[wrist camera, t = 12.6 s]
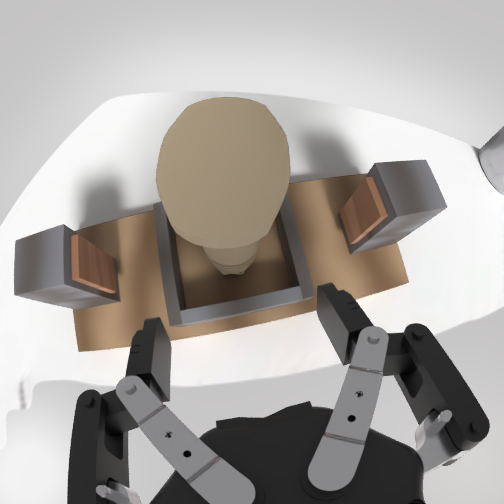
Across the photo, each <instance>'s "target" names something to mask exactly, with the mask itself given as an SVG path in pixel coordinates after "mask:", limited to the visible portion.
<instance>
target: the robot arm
mask: <svg viewBox="0 0 504 504" xmlns="http://www.w3.org/2000/svg"><path fill="white" fill-rule="evenodd" d="M479 159H480V162H481V166H482V168H483V170H484V172H485V174H486V176H487V178H488V179H489V181H490V182H491V183H492V185H493V186H494V187H495V188H496V189H497V190H498V191H499V192H500V193H502V194H504V126H503V127H502V128H501V129H500V130H499V131H498V132H497V133H496V134H495V135H494V136H493V137H492V138H491V139H490V140H489V141H488V142H487V143H486V144H485V145H484V146H483V147H482V148H481V149H480V151H479ZM317 314H318V318H319V320H320V322H321V324H322V326H323V328H324V330H325V331H326V333H327V335H328V337H329V339H330V341H331V343H332V345H333V347H334V349H335V350H336V352H337V354H338V356H339V358H340V360H341V362H342V364H343V365H347V364H351V365H350V366H349V368H348V372H347V374H346V378H345V381H344V383H343V386H342V389H341V392H340V395H339V397H338V400H337V403H336V406H335V408H334V410H333V409H330V408H325V407H312V405H311V403H310V401H308V402H305V403H301V404H297V405H294V406H290V407H286V408H284V409H282V410H280V411H278V412H276V413H274V414H272V415H270V416H267V417H265V418H247V417H238V418H232V419H225V420H220V421H216V426H217V427H216V428H213V429H211V430H209V431H207V432H206V433H204V434H203V435H202V436H201V437H200V438H198V437H197V436H196V435H195V434H193V433H192V432H191V431H190V430H189V429H188V428H187V427H186V426H185V425H184V424H183V423H182V422H181V421H180V420H179V419H178V418H177V417H176V416H175V415H174V414H173V413H172V412H171V411H170V409H169V408H168V407H166V405H163V402H166V401H170V369H171V343H170V339H169V336H168V334H167V332H166V330H165V327H164V325H163V323H162V321H161V319H160V317H155V318H149V319H145V320H144V325H143V330H137V332H136V333H135V335H134V336H133V338H132V343H131V348H130V354H129V359H128V364H127V370H126V376H125V378H123V379H122V380H120V381H119V383H118V384H117V386H116V389H115V390H113V391H110V392H107V393H105V394H102V395H100V394H99V392H98V391H96V390H87V391H85V392H83V393H82V394H81V395H80V396H79V397H78V400H77V404H76V410H75V416H74V423H73V430H72V438H71V447H70V457H69V471H68V496H67V498H68V500H67V504H141V501H140V498H139V496H138V495H137V493H136V492H134V491H133V490H131V489H129V468H128V431H129V430H132V429H135V428H138V427H140V429H141V430H142V431H143V432H144V434H145V435H146V436H147V438H148V439H149V440H150V441H151V442H152V444H153V445H154V446H155V447H156V448H157V449H158V451H159V452H160V453H161V454H162V455H163V456H164V457H165V458H166V460H167V461H168V462H169V463H170V464H171V465H172V466H173V467H174V468H175V469H176V470H175V471H174V473H173V474H172V475H171V476H170V478H169V479H168V480H167V482H166V483H165V484H164V486H163V487H162V488H161V490H160V491H159V492H158V494H157V495H156V496H155V497H154V499H153V500H152V501H151V502H150V504H426V503H425V501H424V497H423V476H424V475H425V474H426V473H428V472H430V471H432V470H434V469H436V468H437V467H439V466H441V465H443V466H448V465H451V464H452V463H454V462H455V461H457V460H458V459H459V458H461V457H462V456H463V455H464V454H466V453H467V452H468V451H469V450H471V449H472V448H473V447H475V446H476V445H477V444H478V443H479V442H481V441H482V440H483V439H484V438H485V437H486V436H487V434H488V432H489V428H490V424H489V420H488V418H487V417H486V414H485V413H484V411H483V409H482V408H481V406H480V404H479V403H478V401H477V399H476V398H475V396H474V395H473V393H472V391H471V390H470V388H469V387H468V385H467V383H466V382H465V380H464V379H463V377H462V376H461V374H460V373H459V371H458V370H457V368H456V367H455V366H454V364H453V363H452V361H451V359H450V358H449V356H448V355H447V354H446V352H445V351H444V349H443V348H442V347H441V345H440V344H439V343H438V341H437V340H436V338H435V337H434V336H433V334H432V333H431V331H430V330H429V329H428V328H427V327H426V326H424V325H422V324H418V323H415V324H410V325H408V326H407V327H406V329H405V331H404V333H387V332H386V331H385V330H384V329H382V328H380V327H376V326H374V325H373V324H372V323H371V321H370V320H369V318H368V317H367V316H366V314H365V313H364V311H363V310H362V309H361V308H360V306H359V304H358V303H357V302H356V300H355V299H354V298H353V296H352V295H351V294H350V293H348V292H347V291H345V290H339V291H338V290H337V288H336V287H335V285H334V284H333V283H332V282H331V283H327V284H322V285H318V286H317ZM390 375H394V377H395V378H396V381H397V382H398V384H399V386H400V388H401V390H402V392H403V394H404V396H405V398H406V400H407V402H408V403H409V406H410V407H411V409H412V412H413V413H414V415H415V418H416V420H417V422H418V424H419V427H418V428H417V430H416V432H415V440H416V445H417V446H416V451H415V450H414V449H413V448H411V447H410V446H408V445H405V444H403V443H401V442H399V441H396V440H394V439H392V438H390V437H387V436H386V435H383V434H381V433H379V432H377V431H375V430H373V429H371V428H370V424H371V421H372V417H373V414H374V410H375V406H376V402H377V398H378V394H379V390H380V386H381V382H382V377H383V376H390Z"/></svg>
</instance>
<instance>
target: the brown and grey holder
mask: <svg viewBox="0 0 504 504" xmlns="http://www.w3.org/2000/svg"><path fill="white" fill-rule="evenodd" d="M153 205H154V210H153V211H148V212H144V213H140V214H136V215H132V216H128V217H124V218H120V219H117V220H113V221H109V222H105V223H102V224H98V225H94V226H91V227H87V228H84V229H80V230H77V231H73V230H71V229H70V228H69V227H67V226H66V225H64V224H63V225H60V226H57V227H54V228H51V229H48V230H45V231H42V232H39V233H36V234H33V235H30V236H27V237H24V238H22V239H19V240H16V243H15V262H14V295H16V296H20V297H24V298H28V299H32V300H36V301H40V302H44V303H49V304H53V305H58V306H62V307H67V308H72V309H73V314H74V323H75V331H76V338H77V344H78V350H79V352H83V351H95V350H105V349H114V348H123V347H131V343H132V338H133V336H134V335H135V333H136V332H137V330H143V325H144V320H145V319H149V318H155V317H160V319H161V321H162V323H163V325H164V327H165V330H166V332H167V334H168V336H169V339H170V341H173V340H179V339H185V338H191V337H197V336H202V335H208V334H213V333H218V332H223V331H229V330H234V329H238V328H243V327H248V326H253V325H257V324H262V323H266V322H271V321H275V320H279V319H284V318H288V317H292V316H296V315H300V314H304V313H308V312H312V311H316V310H317V286H318V285H322V284H327V283H331V282H332V283H333V284H334V285H335V287H336V288H337V290H338V291H339V290H345V291H347V292H348V293H350V294H351V295H352V296H353V298H354V299H359V298H362V297H366V296H369V295H372V294H375V293H379V292H382V291H385V290H388V289H391V288H395V287H398V286H401V285H403V284H406V283H409V281H408V277H407V274H406V270H405V267H404V263H403V260H402V257H401V254H400V250H399V247H398V244H397V242H398V241H399V240H401V239H402V238H404V237H405V236H407V235H408V234H410V233H411V232H413V231H414V230H416V229H417V228H419V227H420V226H422V225H423V224H424V223H426V222H427V221H429V220H430V219H432V218H433V217H434V216H436V215H437V214H439V213H440V212H441V211H443V210H444V209H446V208H447V205H446V203H445V200H444V198H443V196H442V193H441V191H440V189H439V186H438V184H437V182H436V180H435V178H434V176H433V173H432V171H431V169H430V167H429V165H428V163H427V161H426V160H412V161H395V162H382V163H375V164H374V165H373V167H372V168H371V169H370V171H369V172H368V173H366V174H357V175H349V176H340V177H333V178H325V179H318V180H311V181H304V182H297V183H290V184H289V185H288V189H287V192H286V195H285V197H284V200H283V203H282V205H281V207H280V209H279V212H278V214H277V216H276V218H275V220H274V222H273V224H272V226H271V228H270V230H269V232H268V234H267V235H265V236H264V237H262V238H261V239H260V243H259V247H258V251H257V254H256V256H255V258H254V260H253V262H252V264H251V265H250V266H249V267H248V268H247V269H246V270H245V272H244V273H243V274H241V275H237V274H228V275H224V274H222V273H221V272H220V270H218V269H217V268H216V267H215V266H214V265H213V264H212V263H211V262H210V260H209V259H208V257H207V255H206V253H205V251H204V249H203V246H200V245H196V244H193V243H191V242H189V241H187V240H185V239H184V238H183V237H181V236H180V235H178V234H177V233H176V232H175V230H174V229H173V227H172V226H171V224H170V221H169V219H168V216H167V214H166V211H165V209H164V206H163V204H162V202H160V203H156V204H153Z"/></svg>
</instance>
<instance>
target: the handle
mask: <svg viewBox="0 0 504 504" xmlns="http://www.w3.org/2000/svg"><path fill="white" fill-rule="evenodd" d="M289 181H290V158H289V147H288V142H287V138H286V135H285V133H284V131H283V129H282V127H281V126H280V125H279V123H278V122H277V120H276V119H275V117H274V116H273V115H272V114H271V112H270V111H269V110H268V108H267V107H266V106H265V105H263V104H260V103H258V102H255V101H253V100H250V99H244V98H236V97H221V98H212V99H207V100H203V101H200V102H197V103H194V104H192V105H190V106H188V107H187V108H186V109H185V110H184V111H183V113H182V114H181V115H180V116H179V117H178V118H177V120H176V121H175V122H174V123H173V125H172V126H171V127H170V129H169V130H168V132H167V133H166V135H165V137H164V139H163V142H162V145H161V149H160V154H159V159H158V165H157V172H156V183H157V188H158V192H159V195H160V198H161V201H162V204H163V206H164V209H165V211H166V214H167V216H168V219H169V221H170V224H171V226H172V227H173V229H174V230H175V232H176V233H177V234H178V235H180V236H181V237H183V238H184V239H185V240H187V241H189V242H191V243H193V244H196V245H200V246H203V249H204V251H205V253H206V255H207V257H208V259H209V260H210V262H211V263H212V264H213V265H214V266H215V267H216V268H217V269H218V270H220V272H221V273H222V274H224V275H228V274H237V275H241V274H243V273H244V272H245V270H246V269H247V268H248V267H249V266H250V265H251V264H252V262H253V260H254V258H255V256H256V254H257V251H258V247H259V243H260V239H261V238H262V237H264V236H265V235H267V234H268V232H269V230H270V228H271V226H272V224H273V222H274V220H275V218H276V216H277V214H278V212H279V209H280V207H281V205H282V203H283V200H284V197H285V195H286V192H287V189H288V185H289Z"/></svg>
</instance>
